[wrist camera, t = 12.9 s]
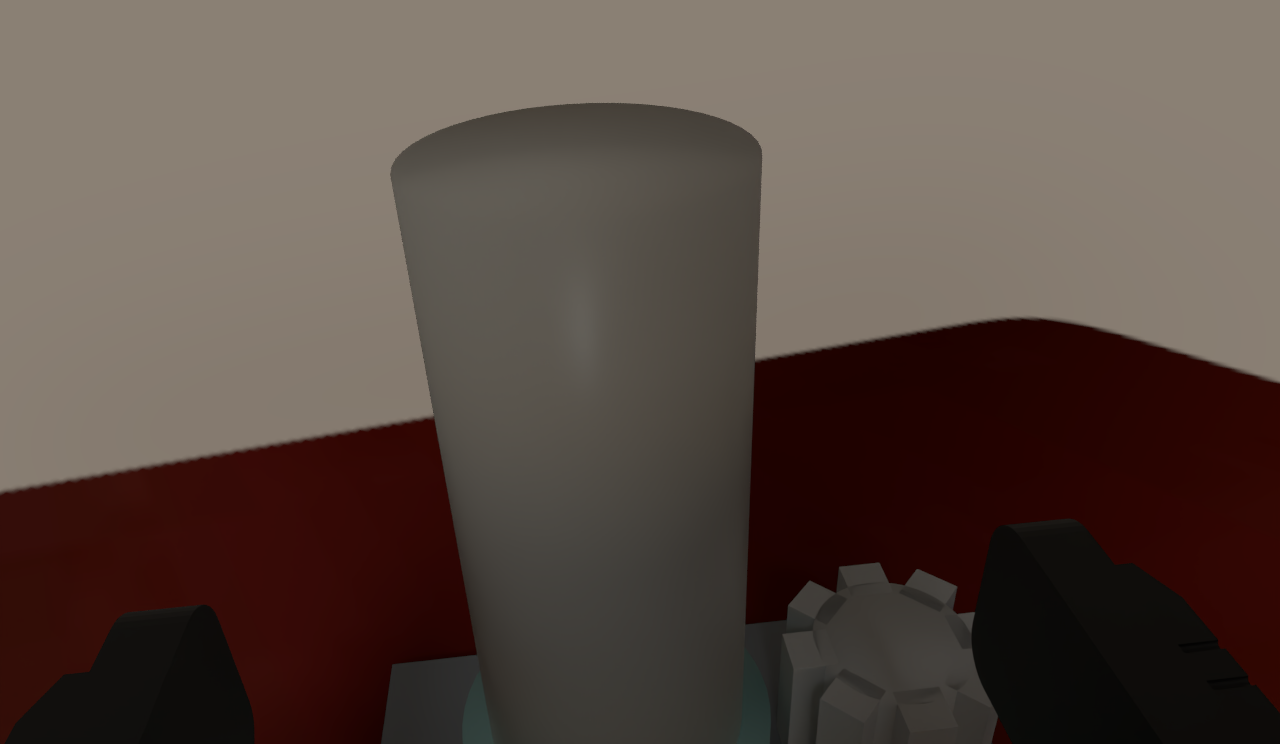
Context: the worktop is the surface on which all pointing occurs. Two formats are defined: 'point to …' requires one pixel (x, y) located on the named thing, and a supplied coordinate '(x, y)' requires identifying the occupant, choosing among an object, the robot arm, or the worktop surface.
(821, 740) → the carrier plate
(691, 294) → the gray pillar
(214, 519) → the worktop surface
